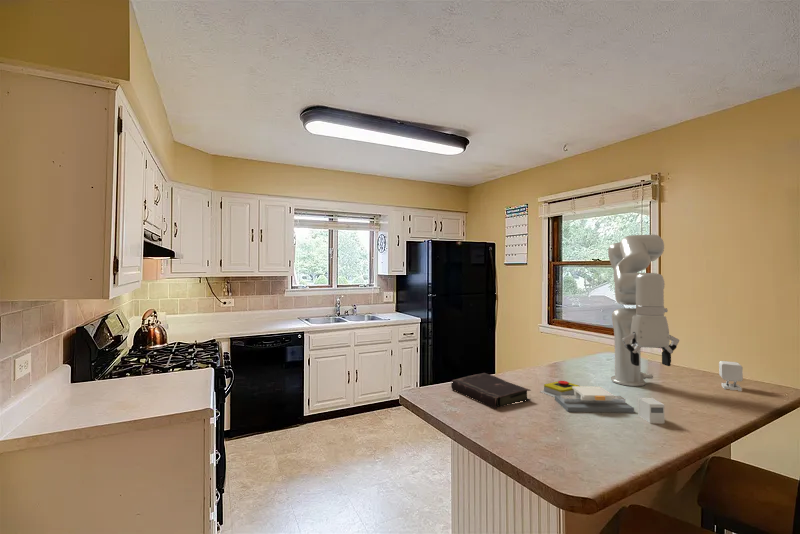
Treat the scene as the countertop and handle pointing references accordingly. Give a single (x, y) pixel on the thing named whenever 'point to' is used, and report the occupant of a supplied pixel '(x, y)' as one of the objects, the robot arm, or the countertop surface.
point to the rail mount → (593, 404)
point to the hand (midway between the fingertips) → (650, 365)
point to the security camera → (731, 374)
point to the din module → (651, 410)
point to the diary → (490, 390)
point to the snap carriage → (592, 393)
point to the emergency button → (558, 388)
